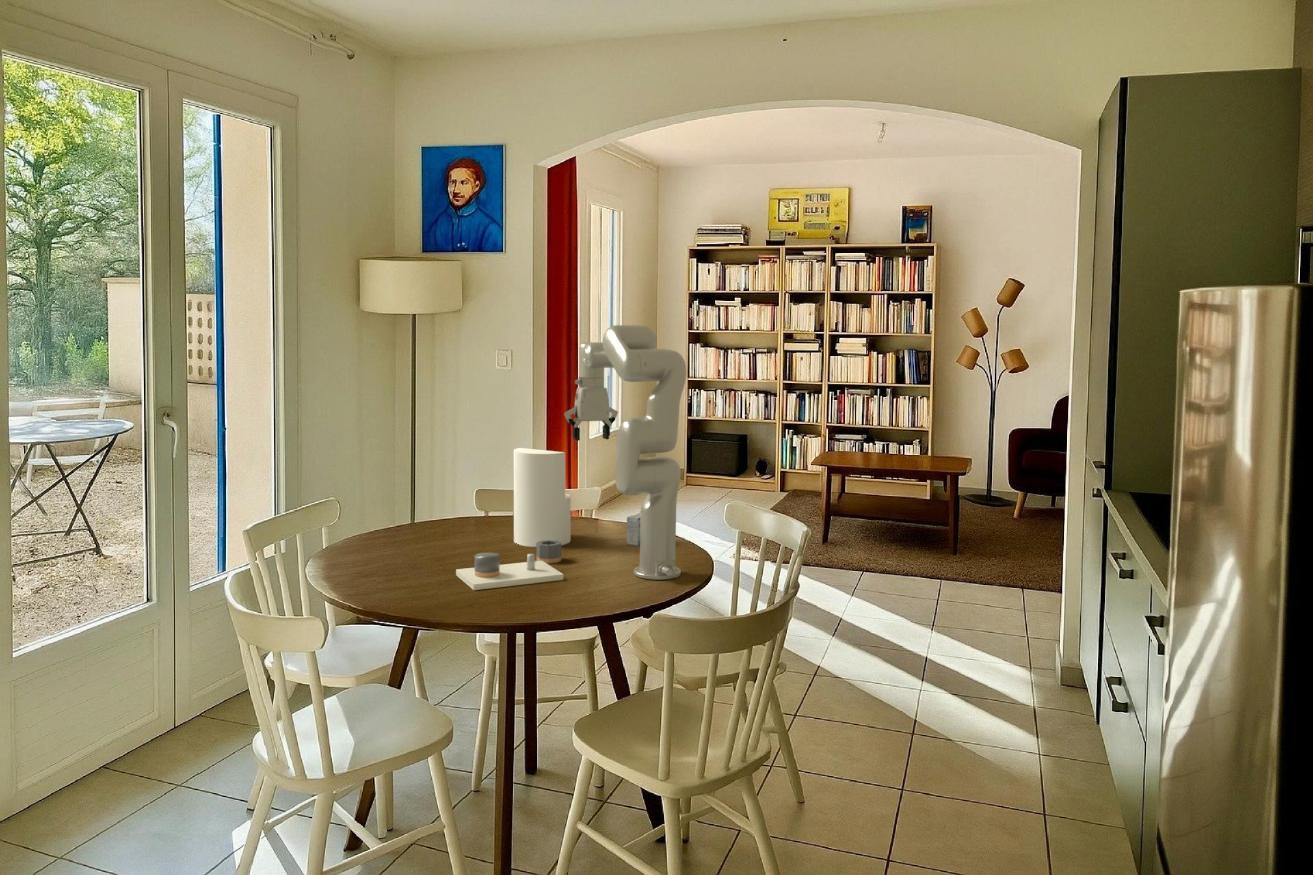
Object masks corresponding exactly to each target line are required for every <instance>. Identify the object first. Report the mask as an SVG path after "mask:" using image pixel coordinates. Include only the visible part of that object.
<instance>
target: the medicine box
mask: <svg viewBox="0 0 1313 875" xmlns="http://www.w3.org/2000/svg"><path fill="white" fill-rule="evenodd" d="M626 544H627V545H629V546H636V547H640V513H637V514H634V515H629V516H627V517H626Z"/></svg>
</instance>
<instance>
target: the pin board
mask: <svg viewBox="0 0 1313 875" xmlns="http://www.w3.org/2000/svg"><path fill="white" fill-rule="evenodd" d="M473 557H474V567H469V568H468V567H467V568H458V569H457V568H456V569H455V575H456V576H457V577H458V578H459V579H460V580H461V581H463V583H464V584H466V585H467V586H468V587H470V589H472V590H473V591H478V590H485V589H486V590H487V589H488V590H489V589H496V588H504V587H513V586H520V585H521V586H523V585H530V584H540V583H548V582H555V581H564V573H562V572H561V571H559V570H557V569H556V568H554V567H553V566H551V565H549V563H545V562H543V561H537V560H536V554H535V553H527V554H526V557H527V559H526V561H525V562H524V561H522V562H515V563H514V562H513V563H506V564H505V563H504V564H500V560H501V559H500V558H501V557H500V553H496V552H478V553H475V555H474V556H473Z"/></svg>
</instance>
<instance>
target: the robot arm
mask: <svg viewBox="0 0 1313 875" xmlns="http://www.w3.org/2000/svg"><path fill="white" fill-rule="evenodd" d="M657 342H658V339H657V335H656V333H655V331H654V330H653V329H652V328H650V327H648V326H645V325H640V324H639V325H637V324H635V325H632V324H631V325H630V324H628V325H625V324H624V325H623V324H622V325H621V324H620V325H619V324H617V325H616V324H614V325H611V326H609V327H608V328H607V329H606V330H605V332H604V333H603V336H602V341H601V342H599V341H598V342H593V341H591V342H590V341H589V342H588V341H587V342H586V341H585V342H581V343H580V344H579V347H578V348H579V349H578V350H579V352H578V354H579V358H578V360H579V361H578V362H579V363H578V364H579V365H578V367H579V369H578V373H579V374H578V376H579V377H578V379H575V380H574V384H575V385H578V387H577V388H576V391H575V397H574V407H572V408H570V409H569V410H567V411H565V412H564V414H563V415H564V417H565V419H566V421H567V423H568V424H569V425H570V426H571V427H572V438H573V441H576V442H577V441H578V442H579V441H580V439H581V437H580V435H581V433H580V432H581V430H580V427H579V426H580V425H581V423H583V422H602V423H603V425H602V439H605V440H609V439H610V435H611V427H612V425H613V423H614V422H615V421H616V418H617V417H618V413H619V411H618V410H616V409H614V408H612V407H611V406H610V402H609V401H610V400H609V393H608V388H607V387H605V368H607V369H610V368H612V369H614V370H615V372H616V374H617V375H618V377H619V378H620V379H621V380H623V381H625V382H627V383H635V382H636V383H638V382H639V383H641V382H642V383H643V382H646V383H647V382H649V383H650V382H658V384H656V385H655V386H654V388H653V389H652V390H651V392H650V394H649V396H648V397H647V400H646V413H645V416H644V417H630V418H627V419H624V421H622V422H621V424H620V425H619V427H618V430H617V434H616V437H617V438H616V449H615V450H616V451H615V453H616V454H615V468H614V470H615V471H614V472H615V473H614V475H615V476H614V479H615V480H614V481H615V485H616V488H617V490H618V492H619V493H620V494H622V495H625V496H638V495H646V496H645V498H644V499H643V502H642V503H641V507H640V511H639V512H640V513H639V514H640V546H639V566H636V567H635V568H634V569H633V574H634V576H636V577H637V578H642V579H646V580H653V581H654V580H655V581H656V580H658V581H659V580H671V579H675V578H678V577H680V576H681V574H682V570H681V569H680V568H679V567H677V566H676V545H677V544H676V543H677V539H676V538H677V537H676V536H677V535H676V534H677V504H678V503H677V502H678V492H679V487H680V483H681V478H682V477H681V474H682V473H681V472H682V471H681V468H680V465H679V463H678V462H677V461H676V460H675V459H673V458H671V457H666V456H654V457H653V456H651V457H649V456H648V457H640V456H641V455H646V454H647V455H648V454H663V453H670V452H671V451H674V449H675V448H676V446H677V442H678V435H679V434H678V432H679V419H680V418H679V417H680V404H681V398H682V394H683V392H684V388H685V385H686V379H687V366H686V365H687V364H686V361H685V359H684V357H683V356H682V354H681V353H679V352H677V351H675V350H673V349H666V348H664V349H663V348H656V346H657V344H658V343H657ZM572 415H573V416H574V419H572Z"/></svg>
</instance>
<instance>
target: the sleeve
mask: <svg viewBox="0 0 1313 875" xmlns="http://www.w3.org/2000/svg"><path fill="white" fill-rule="evenodd" d="M535 548H536V550H535V551H536V552H535V553H536V554H535V559H536V561H543V562H545V563H546V564H556V563H559V562H561V561H562V545H561V542H559V541H553V540H546V541H539V542H537V543H536V547H535Z"/></svg>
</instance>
